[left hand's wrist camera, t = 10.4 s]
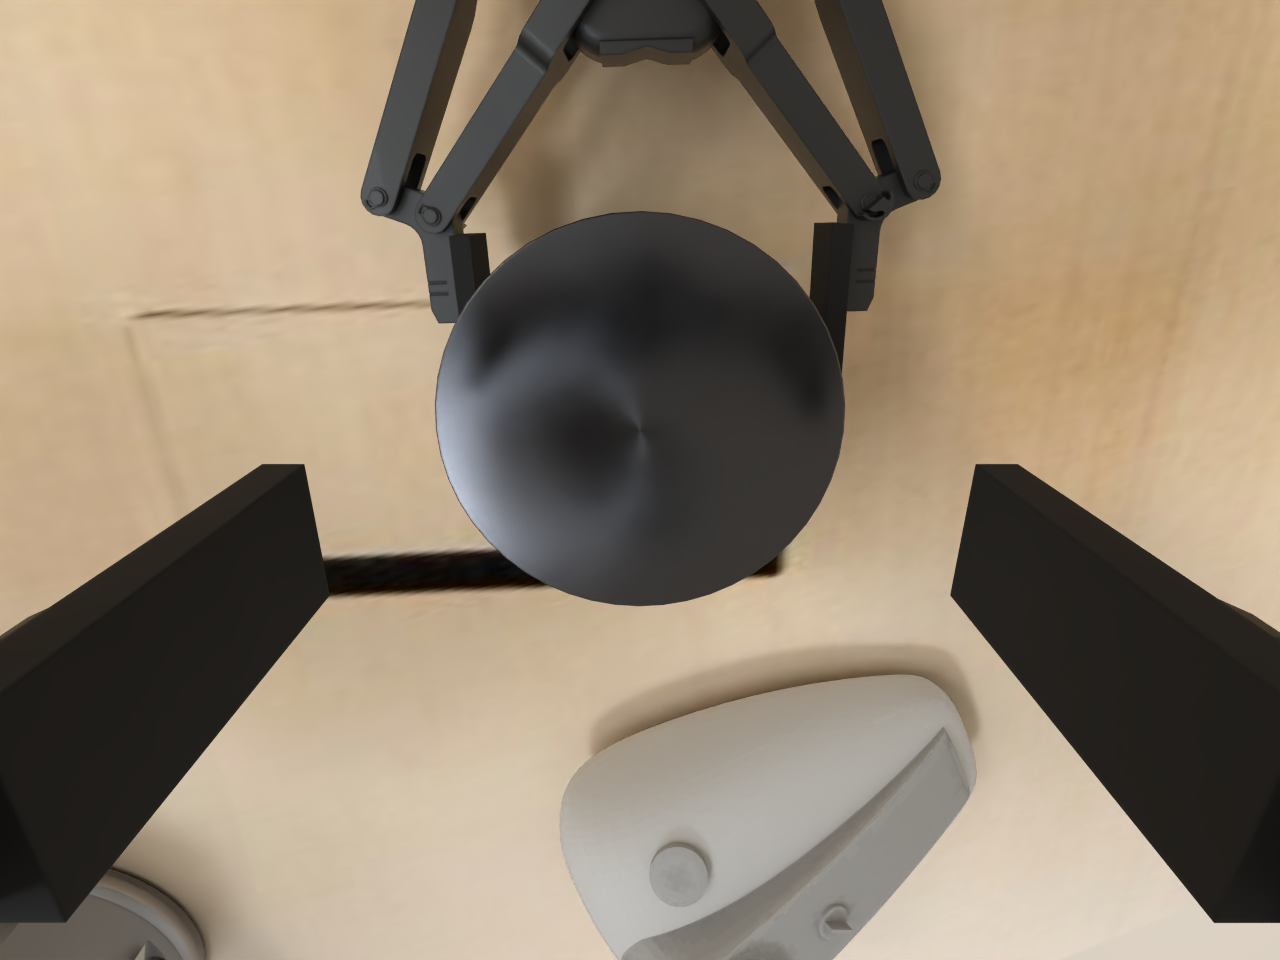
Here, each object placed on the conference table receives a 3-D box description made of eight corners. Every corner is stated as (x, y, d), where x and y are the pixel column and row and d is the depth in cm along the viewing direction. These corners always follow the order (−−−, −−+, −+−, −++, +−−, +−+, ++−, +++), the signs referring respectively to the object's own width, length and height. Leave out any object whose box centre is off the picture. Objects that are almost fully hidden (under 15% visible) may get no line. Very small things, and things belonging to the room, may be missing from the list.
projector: (848, 929, 48) (930, 1214, 34) (531, 864, 46) (485, 1142, 32) (993, 682, 40) (1174, 925, 27) (620, 588, 38) (609, 801, 24)
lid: (756, 141, 18) (770, 133, 16) (868, 503, 22) (890, 531, 20) (384, 306, 19) (356, 316, 17) (550, 616, 23) (542, 653, 21)
